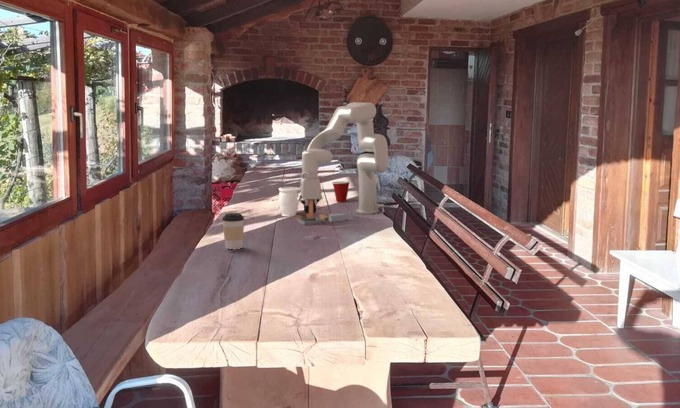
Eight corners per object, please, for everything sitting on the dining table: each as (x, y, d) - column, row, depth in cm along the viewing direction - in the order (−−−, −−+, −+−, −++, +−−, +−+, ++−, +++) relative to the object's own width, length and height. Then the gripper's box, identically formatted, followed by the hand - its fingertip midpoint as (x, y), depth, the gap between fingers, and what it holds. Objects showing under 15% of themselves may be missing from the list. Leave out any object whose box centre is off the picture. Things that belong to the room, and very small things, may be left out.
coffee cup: (224, 246, 290) (223, 211, 287) (245, 245, 291) (244, 211, 288) (222, 251, 281) (221, 215, 278) (244, 250, 282) (243, 215, 279)
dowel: (311, 217, 335) (311, 197, 333) (314, 218, 332) (314, 198, 331) (305, 217, 334) (305, 197, 332) (308, 218, 331) (308, 198, 329)
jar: (296, 218, 348) (295, 189, 346) (276, 218, 351) (276, 189, 348) (301, 214, 359) (300, 186, 356) (282, 214, 361) (281, 186, 358)
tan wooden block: (333, 219, 349) (333, 213, 348) (339, 222, 341) (339, 216, 341) (319, 220, 346) (319, 214, 345) (324, 223, 339) (324, 217, 338)
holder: (308, 219, 347) (308, 213, 347) (315, 221, 340) (315, 216, 340) (294, 220, 344) (294, 214, 343) (300, 223, 337) (300, 217, 336)
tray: (315, 222, 340) (315, 217, 339) (323, 225, 332) (323, 220, 331) (297, 223, 335) (297, 219, 335) (304, 227, 327) (304, 222, 327)
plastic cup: (338, 199, 407) (338, 179, 405) (353, 201, 401) (353, 181, 399) (328, 201, 398) (328, 181, 396) (343, 203, 392) (343, 183, 390)
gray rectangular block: (342, 221, 342) (342, 213, 341) (345, 222, 339) (345, 214, 338) (328, 222, 338) (328, 214, 337) (331, 223, 335) (331, 215, 335)
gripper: (297, 177, 322) (297, 215, 325) (328, 175, 330) (328, 212, 333) (291, 175, 329) (291, 213, 332) (321, 174, 336) (321, 210, 339)
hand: (310, 212), depth 332 cm, fingers closed on dowel, 3 cm apart
